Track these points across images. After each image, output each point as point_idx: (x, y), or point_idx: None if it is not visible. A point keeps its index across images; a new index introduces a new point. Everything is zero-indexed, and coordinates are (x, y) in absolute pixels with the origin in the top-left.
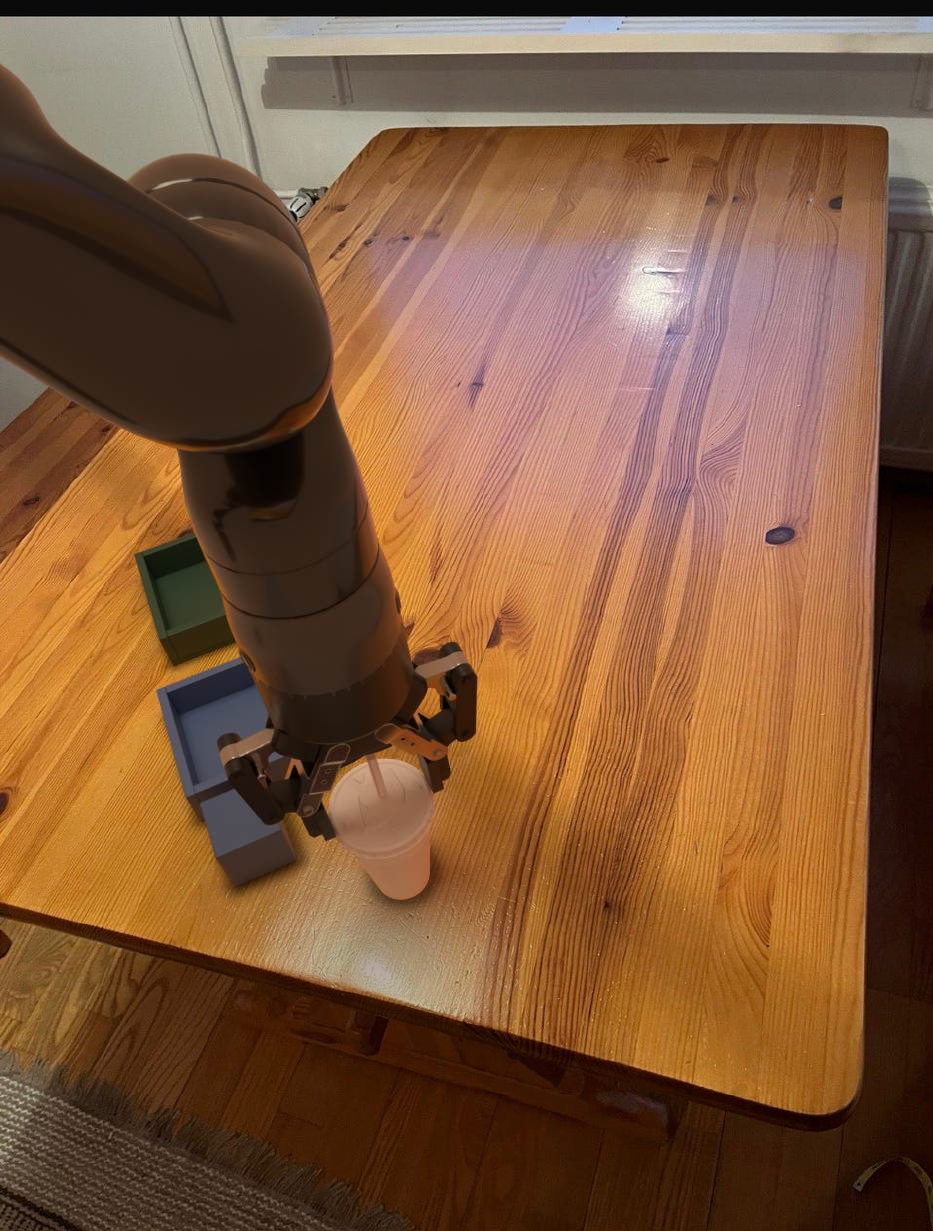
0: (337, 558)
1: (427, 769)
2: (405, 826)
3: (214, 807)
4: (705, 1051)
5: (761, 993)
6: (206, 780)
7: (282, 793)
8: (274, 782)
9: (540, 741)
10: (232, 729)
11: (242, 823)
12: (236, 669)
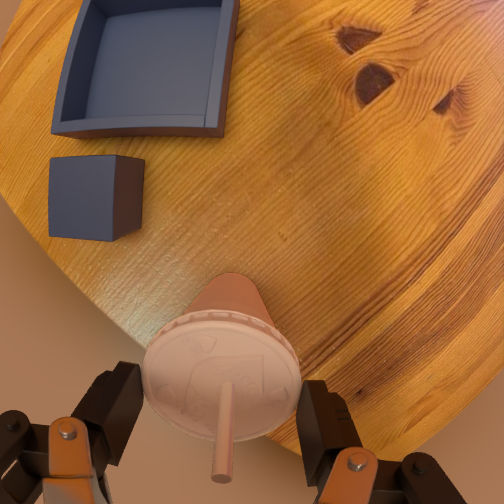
0: None
1: (305, 467)
2: (237, 427)
3: (59, 172)
4: None
5: (381, 448)
6: (72, 121)
7: (44, 470)
8: (28, 454)
9: (419, 241)
10: (140, 48)
11: (77, 209)
12: None
